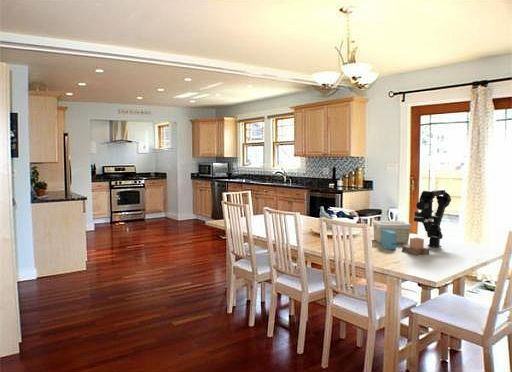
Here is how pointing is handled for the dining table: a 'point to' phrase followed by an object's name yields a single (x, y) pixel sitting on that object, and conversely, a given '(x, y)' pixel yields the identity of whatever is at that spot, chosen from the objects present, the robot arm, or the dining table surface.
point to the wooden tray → (415, 250)
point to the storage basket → (395, 226)
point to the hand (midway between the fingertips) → (426, 231)
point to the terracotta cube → (416, 243)
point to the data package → (389, 239)
